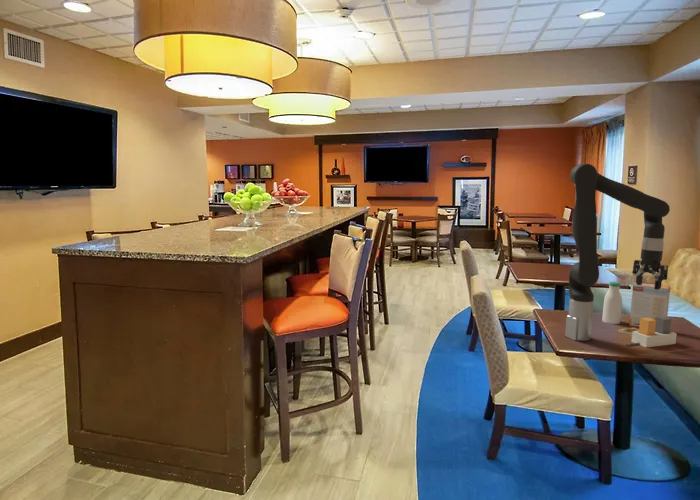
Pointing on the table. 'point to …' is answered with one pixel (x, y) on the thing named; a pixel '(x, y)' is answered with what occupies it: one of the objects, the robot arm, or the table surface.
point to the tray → (628, 331)
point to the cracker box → (648, 303)
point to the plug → (647, 326)
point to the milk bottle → (612, 304)
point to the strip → (660, 338)
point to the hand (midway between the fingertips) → (647, 287)
